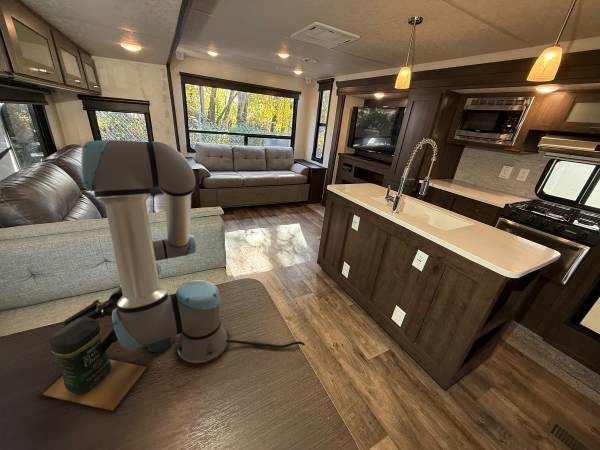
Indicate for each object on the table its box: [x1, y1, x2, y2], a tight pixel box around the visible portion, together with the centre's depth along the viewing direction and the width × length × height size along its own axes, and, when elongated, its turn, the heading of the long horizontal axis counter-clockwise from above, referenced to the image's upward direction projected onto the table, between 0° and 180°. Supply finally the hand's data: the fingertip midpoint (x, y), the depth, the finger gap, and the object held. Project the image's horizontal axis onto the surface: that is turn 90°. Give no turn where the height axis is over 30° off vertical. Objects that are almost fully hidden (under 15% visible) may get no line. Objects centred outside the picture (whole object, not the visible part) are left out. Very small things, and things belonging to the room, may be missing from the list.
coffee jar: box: [49, 317, 112, 394], centre depth 65 cm, size 10×8×19 cm
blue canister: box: [146, 336, 174, 353], centre depth 79 cm, size 8×8×11 cm
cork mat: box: [42, 358, 148, 412], centre depth 68 cm, size 20×12×1 cm, turn 82°
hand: (76, 350), depth 64 cm, fingers open, 11 cm apart
